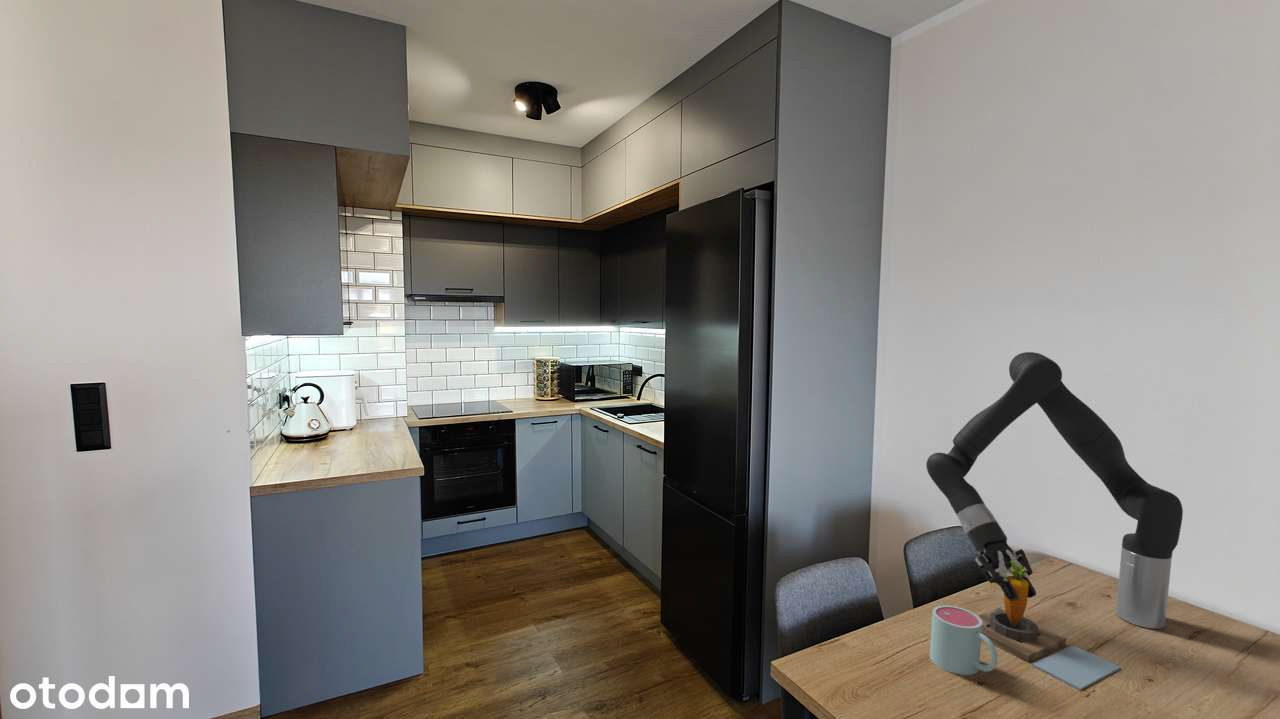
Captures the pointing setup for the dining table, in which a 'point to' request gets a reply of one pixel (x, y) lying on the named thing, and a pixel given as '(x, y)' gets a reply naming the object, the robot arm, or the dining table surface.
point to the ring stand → (1019, 636)
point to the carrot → (1021, 588)
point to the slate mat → (1076, 667)
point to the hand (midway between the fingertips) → (1023, 597)
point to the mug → (959, 641)
